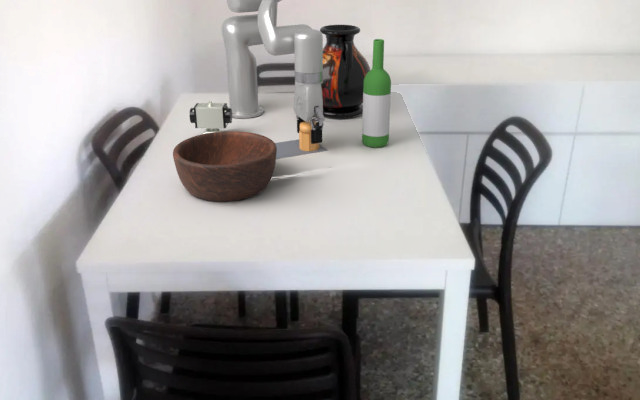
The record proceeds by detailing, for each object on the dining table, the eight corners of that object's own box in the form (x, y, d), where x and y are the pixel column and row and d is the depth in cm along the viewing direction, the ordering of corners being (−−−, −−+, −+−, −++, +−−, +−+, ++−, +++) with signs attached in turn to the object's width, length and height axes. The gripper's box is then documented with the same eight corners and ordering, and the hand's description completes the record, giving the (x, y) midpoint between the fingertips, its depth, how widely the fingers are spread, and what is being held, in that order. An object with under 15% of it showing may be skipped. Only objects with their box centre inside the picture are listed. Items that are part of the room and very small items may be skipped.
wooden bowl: (180, 213, 146) (176, 171, 141) (173, 172, 168) (169, 135, 163) (287, 200, 152) (286, 160, 147) (267, 163, 174) (265, 126, 169)
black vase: (299, 106, 221) (298, 23, 209) (358, 101, 227) (359, 20, 215) (318, 125, 202) (317, 35, 191) (381, 119, 208) (384, 31, 196)
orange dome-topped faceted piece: (297, 146, 182) (296, 122, 179) (314, 143, 183) (313, 120, 181) (304, 152, 177) (304, 128, 174) (321, 149, 179) (321, 125, 176)
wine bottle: (373, 150, 182) (377, 43, 169) (356, 143, 187) (358, 39, 175) (394, 144, 186) (399, 40, 173) (376, 137, 192) (380, 36, 179)
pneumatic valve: (231, 143, 187) (229, 103, 182) (191, 143, 187) (188, 103, 182) (234, 137, 192) (231, 98, 187) (195, 137, 192) (192, 98, 187)
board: (253, 150, 182) (252, 131, 180) (311, 141, 189) (310, 122, 186) (267, 164, 172) (267, 144, 170) (328, 154, 179) (328, 135, 177)
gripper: (283, 71, 177) (285, 130, 185) (308, 86, 163) (309, 149, 170) (308, 68, 180) (309, 126, 188) (335, 83, 166) (334, 145, 173)
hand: (309, 137), depth 179 cm, fingers open, 9 cm apart
